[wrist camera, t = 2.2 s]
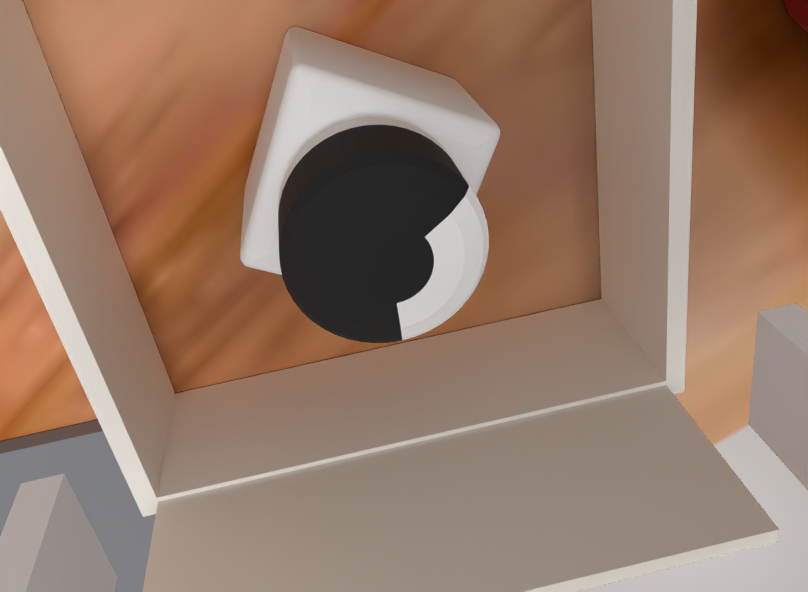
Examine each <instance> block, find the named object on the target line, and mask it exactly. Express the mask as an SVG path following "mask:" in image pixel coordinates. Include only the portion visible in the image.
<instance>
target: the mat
mask: <svg viewBox="0 0 808 592" xmlns="http://www.w3.org/2000/svg"><path fill="white" fill-rule="evenodd" d="M60 474H65V476H66V478H67V480H68V482H69V484H70V486H71V488H72V490H73V492H74V493H75V495H76V497H77V499H78V501H79V503H80V505H81V507H82V509H83V511H84V513H85V515H86V517H87V519H88V521H89V523H90V524H91V526H92V528H93V530H94V532H95V534H96V536H97V538H98V540H99V542H100V544H101V546H102V548H103V550H104V552H105V554H106V555H107V557H108V559H109V561H110V563H111V565H112V567H113V569H114V571H115V573H116V575H117V582H116V587H115V592H142V591H143V585H144V579H145V574H146V568H147V562H148V556H149V551H150V545H151V539H152V534H153V528H154V522H155V517H156V514H154V515H150V516H145V517H143V516H142V514H141V512H140V510H139V507H138V505H137V503H136V501H135V499H134V497H133V494H132V492H131V490H130V488H129V486H128V484H127V481H126V479H125V477H124V475H123V473H122V471H121V469H120V466H119V464H118V462H117V460H116V458H115V456H114V453H113V451H112V449H111V447H110V445H109V443H108V441H107V438H106V436H105V434H104V432H103V430H102V428H101V425H100V423H99V421H98V420H94V421H90V422H85V423H81V424H76V425H72V426H67V427H63V428H58V429H54V430H49V431H45V432H40V433H36V434H31V435H27V436H23V437H18V438H14V439H9V440H5V441H0V536H1V533H2V531H3V528H4V525H5V523H6V520H7V518H8V515H9V513H10V510H11V508H12V505H13V503H14V500H15V497H16V495H17V492H18V490H19V487H20V485H21V483H25V482H30V481H34V480H38V479H42V478H47V477H51V476H55V475H60Z"/></svg>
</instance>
